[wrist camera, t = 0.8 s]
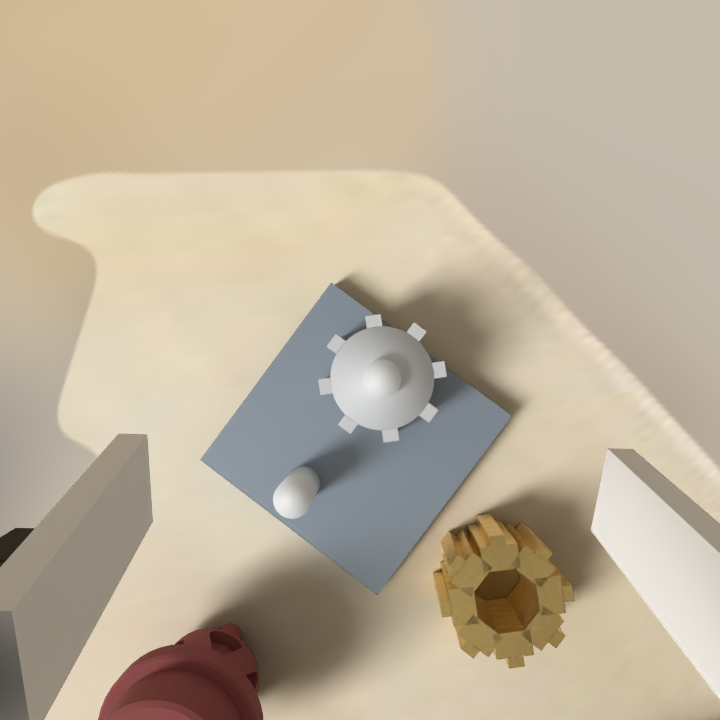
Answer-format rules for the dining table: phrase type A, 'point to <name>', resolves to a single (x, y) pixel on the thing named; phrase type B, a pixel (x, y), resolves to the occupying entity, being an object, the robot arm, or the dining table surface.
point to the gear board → (355, 437)
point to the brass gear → (504, 615)
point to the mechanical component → (189, 681)
